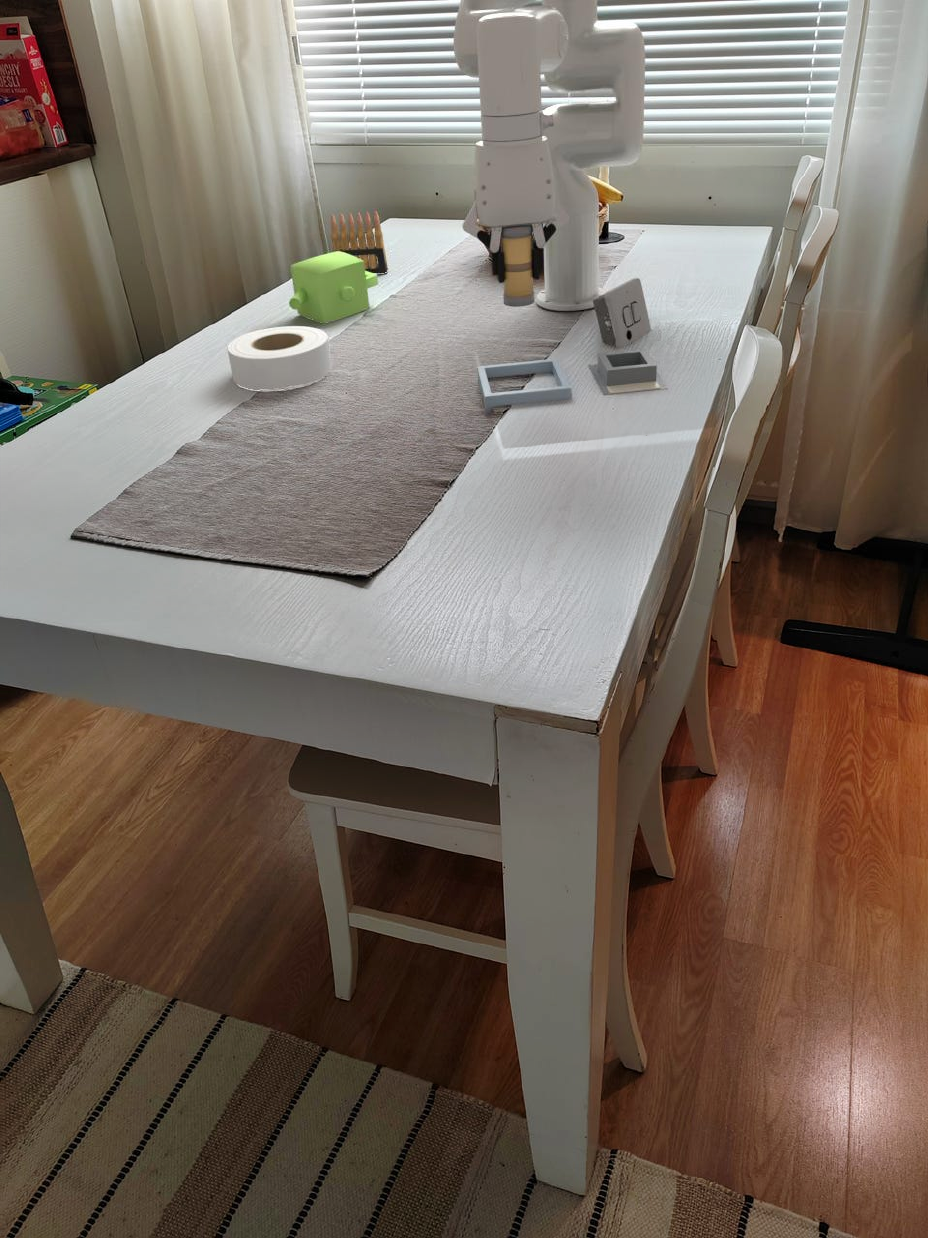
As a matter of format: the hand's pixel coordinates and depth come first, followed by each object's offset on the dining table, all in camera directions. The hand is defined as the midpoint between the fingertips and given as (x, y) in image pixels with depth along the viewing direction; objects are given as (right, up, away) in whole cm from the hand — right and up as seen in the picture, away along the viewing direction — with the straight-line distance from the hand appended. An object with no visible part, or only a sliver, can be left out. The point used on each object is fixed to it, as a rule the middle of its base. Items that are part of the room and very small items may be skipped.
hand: (517, 277), depth 133 cm
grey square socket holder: (+16, -12, +10) cm, 22 cm away
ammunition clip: (-28, +25, +69) cm, 79 cm away
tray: (+1, -13, +10) cm, 17 cm away
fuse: (0, -3, +2) cm, 3 cm away
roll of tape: (-36, -7, +24) cm, 44 cm away
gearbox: (-31, +10, +48) cm, 58 cm away
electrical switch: (+18, -2, +24) cm, 30 cm away
